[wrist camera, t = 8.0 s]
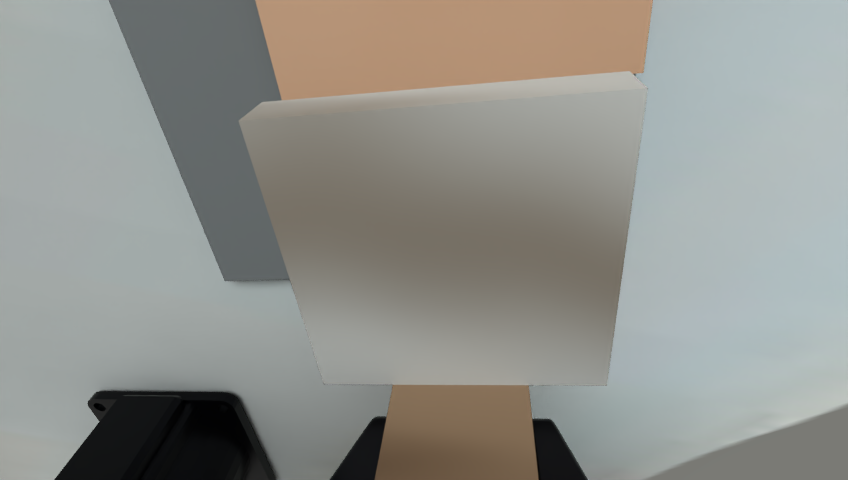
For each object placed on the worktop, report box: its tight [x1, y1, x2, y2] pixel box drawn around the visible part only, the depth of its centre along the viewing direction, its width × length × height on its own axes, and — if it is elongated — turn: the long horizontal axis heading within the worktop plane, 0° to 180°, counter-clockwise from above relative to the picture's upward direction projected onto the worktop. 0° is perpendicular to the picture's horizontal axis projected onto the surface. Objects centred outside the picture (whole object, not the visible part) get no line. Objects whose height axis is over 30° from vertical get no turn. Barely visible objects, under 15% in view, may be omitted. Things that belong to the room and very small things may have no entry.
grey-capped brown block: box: [239, 71, 648, 480], centre depth 7 cm, size 10×5×4 cm, turn 6°
